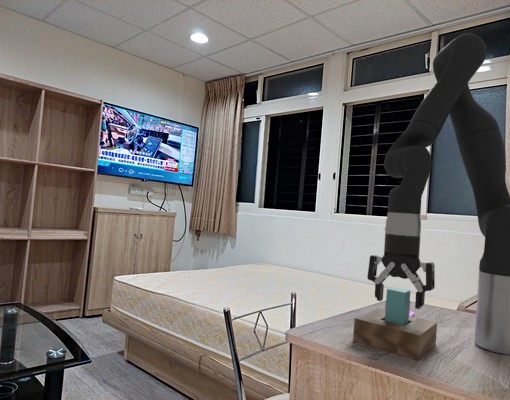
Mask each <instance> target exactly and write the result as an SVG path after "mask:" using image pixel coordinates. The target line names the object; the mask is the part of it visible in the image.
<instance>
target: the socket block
mask: <svg viewBox="0 0 510 400" xmlns="http://www.w3.org/2000/svg"><path fill="white" fill-rule="evenodd" d="M353 320H354V321H353V335H352V341H353V342H357V343H360V344H364V345H367V346H370V347H373V348H377V349H379V350H383V351H386V352H389V353H393V354H397V355H399V356H403V357H405V358H409V359H413V360H416V361H419V360H421V359H422V357H424V356H425V355H426V354H427V353H428V352H429V351H431V349H433V347H434V346H436V342H437V331H438V330H437V329H438V322H437V321H433V320H428V319H423V318H420V317H416V316H415V317H412V316H409V320H408V324H407V325H406V326H403V325H399V324H395V323H392V322H388V321H385V309H381V308H375V309H372V310H371V311H368V312H366V313H364V314H361V315H359V316H356V317H355V318H354V319H353Z"/></svg>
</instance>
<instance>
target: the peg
mask: <svg viewBox="0 0 510 400" xmlns="http://www.w3.org/2000/svg"><path fill="white" fill-rule="evenodd" d="M409 305H410V306H411V290H409V289H405V288H400V287H394V286H393V287H389V288H387V289H386V297H385V306H386V310H385V309H384V310H385V321H388V322H392V323H395V324H399V325H403V326H406V325H407V324H408V320H409Z"/></svg>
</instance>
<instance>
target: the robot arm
mask: <svg viewBox="0 0 510 400" xmlns="http://www.w3.org/2000/svg"><path fill="white" fill-rule="evenodd" d="M487 50H488V49H487V45H486V43H485V41H484V40H483V39H482V37H480V36H479V35H477V34H474V33H464V34H460V35H459V36H457V37H455V38H454V39H452V40H451V41H450V42H449V43H448V44H447V45H445V46H444V47H443V48H442V49H441V50H439V52H438V53H437V54H436V55H435V56H434V58H433V61H432V70H433V75H434V77H435V79H436V83H435V85H433V87H432V89H430V91H429V93H427V95H426V96H425V97H424V98H423V100H422V101H421V102H420V104H419V106H418V107H417V109H416V110H415V112H414V114H413V116H412V118H411V120H410V122H409V123H408V126H407V127H406V129H405V131H404V132H402V133H401V134H400V136H399V137H397V139H396V140H395V142H394V143H393V144H392V145H391V147H390V148H389V149H388V150H387V152H386V155H385V157H384V161H383V162H384V163H383V166H384V167H383V168H384V169H385V172H386V174H387V175H389V176H390V177H392V178H395V179H402V180H401V183H400V184H399V186H396V187H393V188H391V190H390V191H389V194H388V202H387V204H388V205H387V214H386V215H387V216H386V221H385V227H384V231H385V232H384V234H385V235H384V249H383V250H384V251H383V256H379V255H377V254H373V255H370V256H369V263H368V270H367V280H369V281H371V282H372V283H374V287H375V288H374V297H375V299H376V301H378V302H382V301H383V300H384V289H385V285H384V282H385V281H386V280H387V279H388V278H389V277H390V276H391V277H392V278H401V279H403V280H407V279H408V280H409V281H410V282H411V284H412V285H413V286H414V287H415V289H416V291H415V302H414V303H415V304H414V308H415V309H417V310H420V309H422V308H423V307H424V305H425V298H426V297H425V295H426V292H429V291H430V292H431V291H433V290H435V288H436V285H435V282H436V281H435V278H436V277H435V275H436V274H435V266H436V265H435V263H434V262H432V261H431V262H421V260H420V250H421V249H420V247H421V235H422V233H421V232H422V219H421V216H422V215H421V210H422V196H423V193H424V191H425V188H426V185H427V182H428V179H429V177H430V174H431V171H432V165H433V159H432V156H431V155H432V154H431V153H430V151H429V150H428V149H427V148H428V147H430V146H432V145H433V144H434V143H435V142H436V141H437V139H438V137H439V135H440V133H441V131H442V129H443V127H444V125H445V123H446V122H447V119H448V117H449V118H450V119H451V120H450V121H451V123H452V127H453V130H454V134H455V139H456V144H457V146H458V150H459V154H460V158H461V159H462V163H463V166H464V169H465V171H466V176H467V177H468V178H467V179H468V180H469V183H470V185H471V188H472V192H473V197H474V202H475V208H476V213H477V221H478V227H479V231H480V233H481V235H482V236H483V237H484V246H483V247H484V248H483V253H482V256H481V258H480V260H479V266H478V284H477V299H476V315H475V327H474V328H475V331H474V344H475V345H476V346H478V347H480V348H482V349H485V350H487V351H490V352H493V353H494V352H495V353H498V354H502V355H510V193H509V190H508V187H507V181H506V180H507V179H506V167H507V166H506V160H507V159H506V148H505V144H504V143H505V142H504V139H503V135H502V132H501V130H500V126H499V123H498V121H497V119H496V118H495V117H494V116H493V115H492V114H491V113H490V112H489V111H488V110H486V108H484V107H483V106H482V105H480V103H478V102H477V101H476V99H475V98H474V96H473V94H472V92H471V89H470V86H469V83H470V81H471V80H472V78H473V77H474V75H475V74H476V73H477V72H478V70H479V69H480V67H482V65H483V64H484V62H485V60H486V58H487V52H488V51H487ZM381 263H382V265H383V267H384V269H383V270H382V271H381V272H380V273H379V275H377V274H378V273H377V272H378V266H379V265H380V264H381ZM420 268H421V269H422V271H423V273H425V284H424V282H423V281H422V279H421V277H420V275H419V274H418V273H417V271H419V270H420Z"/></svg>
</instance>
